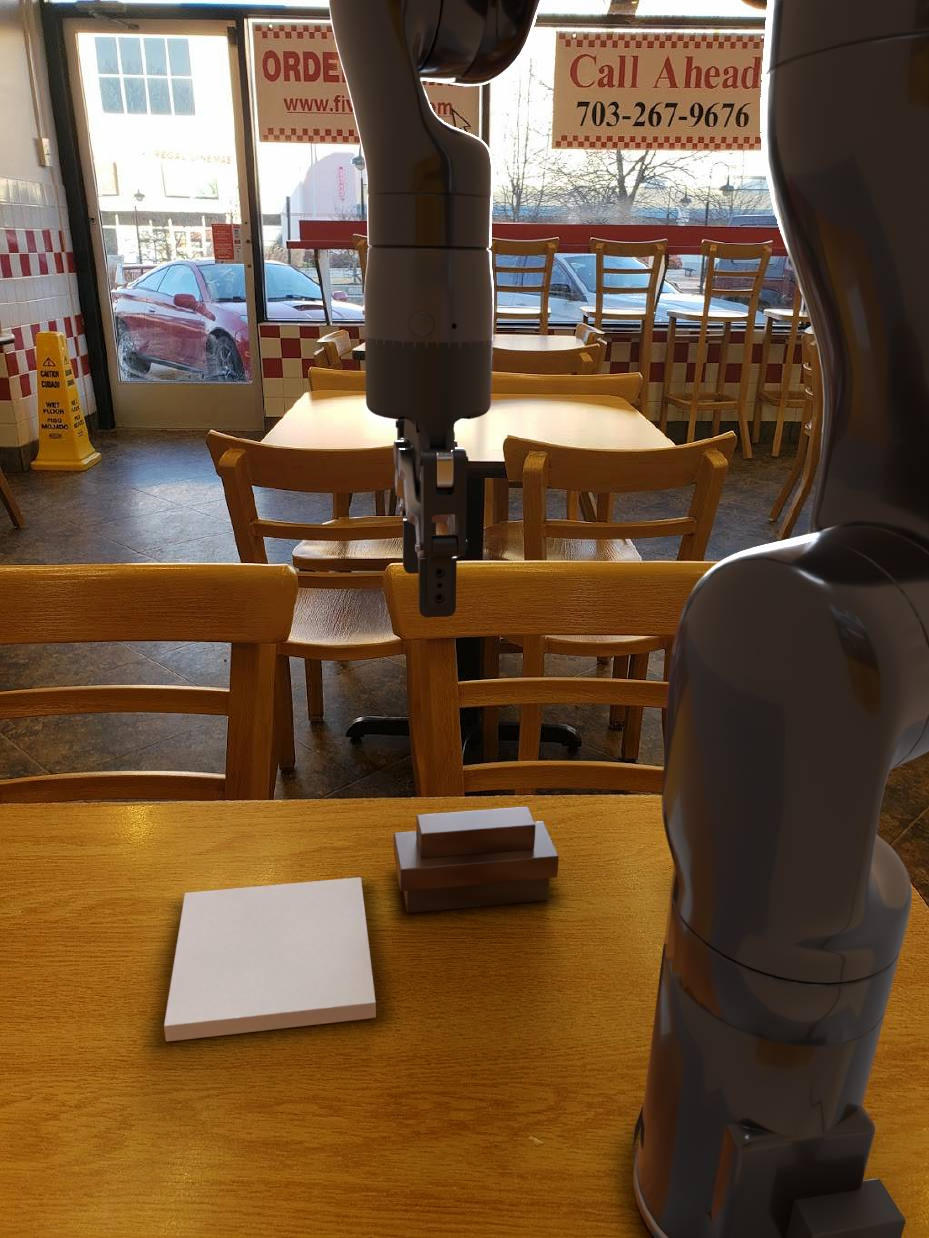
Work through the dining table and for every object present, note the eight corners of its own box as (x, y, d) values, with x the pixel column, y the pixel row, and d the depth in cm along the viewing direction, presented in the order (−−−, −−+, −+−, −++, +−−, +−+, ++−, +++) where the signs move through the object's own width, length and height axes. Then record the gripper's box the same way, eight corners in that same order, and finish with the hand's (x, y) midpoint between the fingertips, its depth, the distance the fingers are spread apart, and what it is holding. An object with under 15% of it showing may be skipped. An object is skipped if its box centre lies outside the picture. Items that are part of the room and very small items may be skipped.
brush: (540, 863, 70) (544, 796, 68) (555, 901, 66) (561, 831, 64) (393, 876, 68) (393, 808, 66) (400, 916, 64) (400, 844, 62)
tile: (375, 1018, 56) (375, 1002, 55) (165, 1042, 54) (163, 1025, 53) (361, 890, 67) (360, 876, 66) (186, 906, 65) (184, 892, 64)
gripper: (518, 342, 49) (507, 630, 55) (470, 323, 62) (465, 557, 68) (374, 341, 48) (379, 635, 54) (356, 322, 61) (361, 561, 67)
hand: (427, 591), depth 61 cm, fingers open, 8 cm apart
